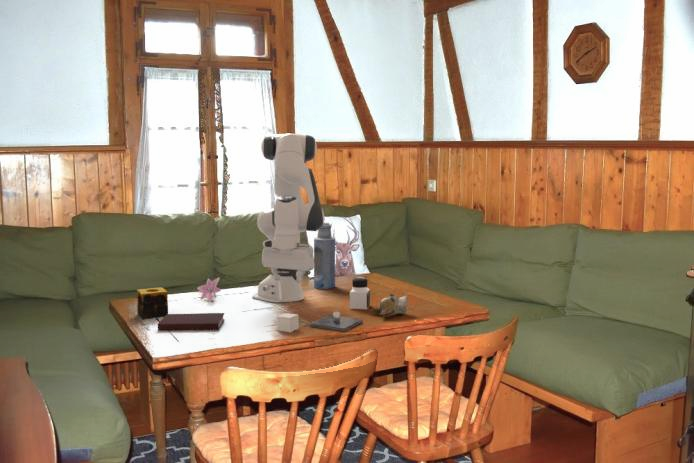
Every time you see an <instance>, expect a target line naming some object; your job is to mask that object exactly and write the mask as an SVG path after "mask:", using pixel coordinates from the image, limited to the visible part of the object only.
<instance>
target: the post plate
mask: <svg viewBox="0 0 694 463" xmlns="http://www.w3.org/2000/svg"><path fill="white" fill-rule="evenodd" d="M332 314H333V315H331V314H329V315H327V316H324V317H322V318H320V319H317V320H316V321H313V322H311V323H309V326H310V328H316V329H322V328H323V330H329V331H338V332H342V333H343V332H346V331H349V330H351V329H352V327H353V328H354V326H355V327H356V325H357V326H358V324H359V325H360V323H361V324H363V319H361V318H354V317H347V316H346V317H345V316H341V312H340V311H333V312H332ZM350 328H351V329H350Z"/></svg>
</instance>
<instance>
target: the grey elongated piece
mask: <svg viewBox="0 0 694 463" xmlns="http://www.w3.org/2000/svg"><path fill="white" fill-rule="evenodd" d="M313 256H314V265H315V266H314V268H313V287H314V288H315V289H318V290H319V289H321V290H327V289H328V290H329V289H333V288H335V287H336V238H335V237H332V224H330V223H329V221H327V222H325V221H324V223H323V226H322V227H321V228H320V229H318V230H317V236H316V237H314V238H313Z"/></svg>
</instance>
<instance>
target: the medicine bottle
mask: <svg viewBox="0 0 694 463" xmlns="http://www.w3.org/2000/svg"><path fill="white" fill-rule="evenodd" d="M351 284H352V285H351V286H352V289H351V290H350V291H349V309H350V310H368V309H369V307H370V305H371V289H370V288H368V279H367V278H365V277H355V278H353V279H352V283H351Z"/></svg>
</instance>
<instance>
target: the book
mask: <svg viewBox="0 0 694 463" xmlns="http://www.w3.org/2000/svg"><path fill="white" fill-rule="evenodd" d="M224 315H225V313H224V312H204V313H168V314H167V315H166V316H164V317H162V318H161V319H160V320H159V322H158V323H157V331H158V332H165V331H168V332H169V331H170V332H171V331H172V332H173V331H179V332H180V331H219V330H220V328H221V327H222V325H223V324H224V322H225V319H224Z"/></svg>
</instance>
